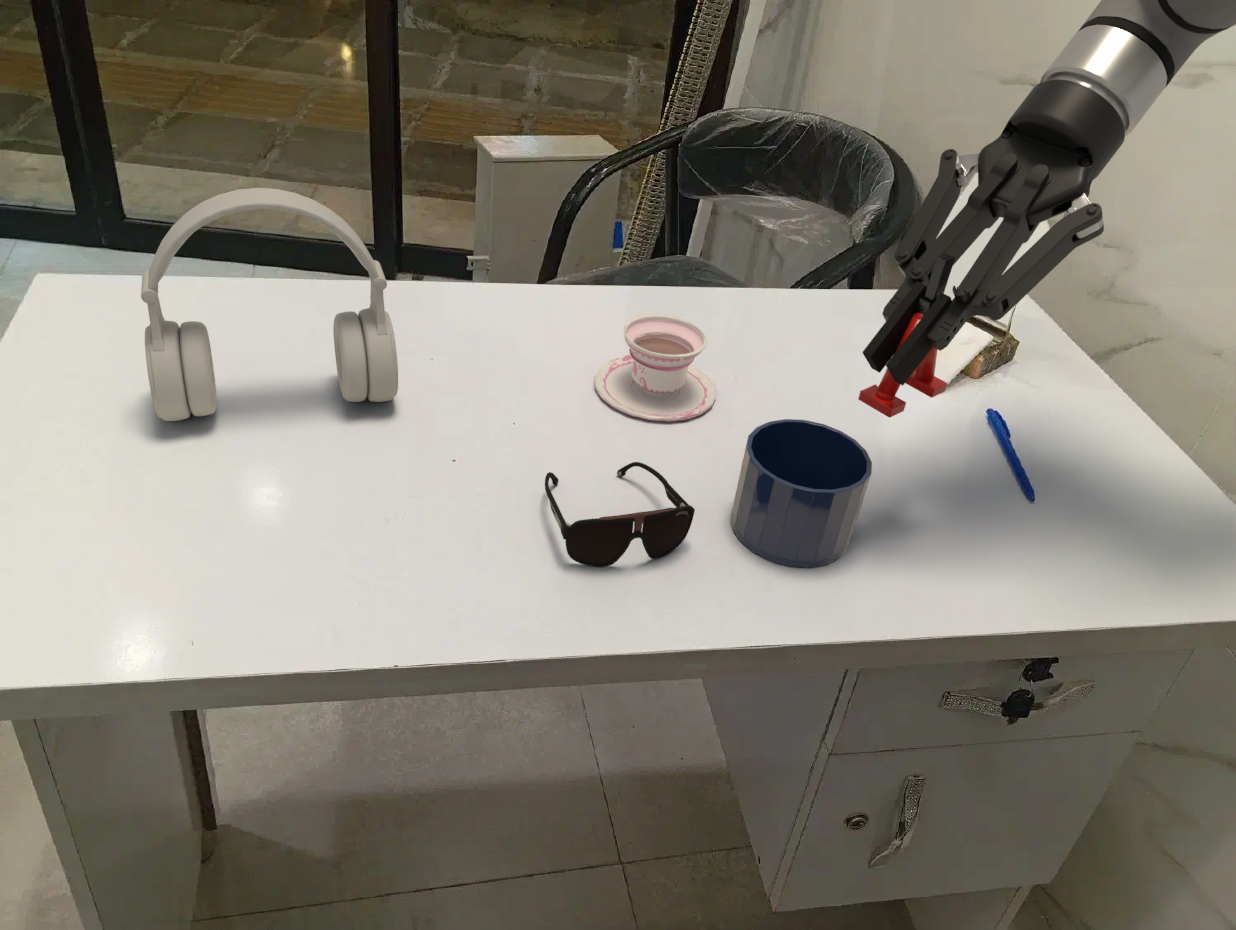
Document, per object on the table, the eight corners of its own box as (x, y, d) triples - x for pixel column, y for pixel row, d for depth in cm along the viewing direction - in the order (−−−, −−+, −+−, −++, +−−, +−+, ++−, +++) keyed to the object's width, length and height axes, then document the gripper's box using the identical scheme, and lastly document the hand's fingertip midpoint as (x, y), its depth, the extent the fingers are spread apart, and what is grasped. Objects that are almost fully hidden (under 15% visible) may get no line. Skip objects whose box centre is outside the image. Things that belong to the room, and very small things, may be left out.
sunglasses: (568, 581, 74) (571, 524, 71) (526, 500, 83) (527, 448, 81) (698, 560, 77) (705, 505, 75) (643, 485, 87) (648, 435, 84)
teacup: (739, 410, 96) (750, 354, 92) (631, 434, 91) (639, 375, 87) (675, 351, 104) (683, 298, 101) (573, 369, 99) (578, 314, 95)
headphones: (386, 370, 95) (379, 173, 84) (401, 418, 89) (396, 212, 78) (159, 389, 89) (118, 178, 77) (158, 442, 82) (113, 221, 71)
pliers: (944, 391, 78) (992, 255, 71) (889, 418, 74) (934, 275, 67) (913, 374, 79) (956, 239, 73) (857, 399, 75) (898, 258, 69)
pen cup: (872, 538, 82) (897, 465, 78) (795, 584, 76) (817, 508, 72) (784, 478, 88) (802, 406, 83) (706, 517, 82) (721, 442, 78)
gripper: (1178, 174, 71) (976, 436, 71) (1002, 114, 79) (821, 349, 79) (1177, 106, 65) (956, 393, 65) (987, 49, 73) (791, 303, 73)
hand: (883, 368), depth 72 cm, fingers closed on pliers, 1 cm apart
